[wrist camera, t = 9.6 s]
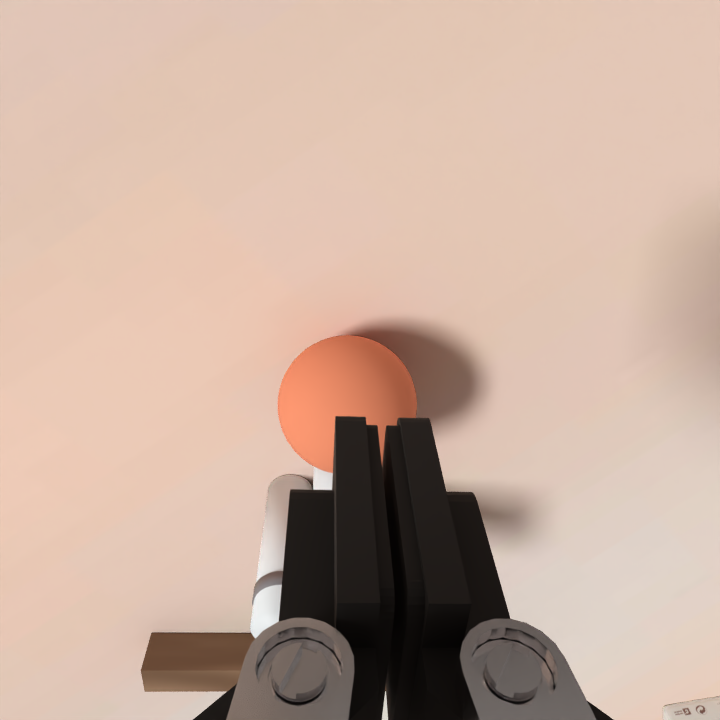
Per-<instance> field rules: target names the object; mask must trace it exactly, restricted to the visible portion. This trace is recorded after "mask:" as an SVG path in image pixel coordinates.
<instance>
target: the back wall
mask: <svg viewBox="0 0 720 720" xmlns="http://www.w3.org/2000/svg"><path fill="white" fill-rule="evenodd" d="M254 640H255V638H254V636H253V635H252V633H151V637H150V640H149V644H148V647H147V651H146V654H145V658H144V661H143V665H142V668H141V674H142V679H143V684H144V690H145V692H166V691H229V690H230V689H231V688H232V687H233V686H235V685H236V684H237V682H238V679H239V675H240V672H241V669H242V665H243V662H244V659H245V656H246V654H247V652H248V650H249V648H250V646H251V644H252V642H253V641H254ZM385 691H386V687H385Z"/></svg>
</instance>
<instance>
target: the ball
mask: <svg viewBox="0 0 720 720" xmlns="http://www.w3.org/2000/svg"><path fill="white" fill-rule="evenodd" d="M416 411H417V399H416V391H415V388H414V384H413V381H412V378H411V376H410V374H409V372H408V370H407V368H406V367H405V365H404V364H403V363H402V361H401V360H400V359H399V358H398V357H397V356H396V355H395V354H394V353H393V352H392V351H390V350H389V349H388V348H386V347H385V346H383V345H382V344H380V343H378V342H376V341H373V340H371V339H367V338H364V337H359V336H350V335H346V336H336V337H331V338H327V339H324V340H322V341H319V342H317V343H315V344H313V345H312V346H310V347H308V348H307V349H305V350H304V351H303V352H302V353H301V354H300V355H299V356H298V357H297V358H296V359H295V360H294V361H293V362H292V364H291V365H290V367H289V368H288V370H287V372H286V373H285V376H284V378H283V380H282V383H281V386H280V390H279V396H278V415H279V420H280V424H281V428H282V431H283V433H284V435H285V437H286V439H287V441H288V442H289V444H290V445H291V447H292V448H293V449H294V451H295V452H296V453H297V454H298V455H299V456H300V457H301V458H303V459H304V460H305V461H306V462H308V463H309V464H311V465H313V466H314V467H316V468H318V469H320V470H323V471H326V472H329V473H333V457H334V433H335V416H356V417H366V425H377V426H378V434H379V444H380V453H381V463H382V462H383V451H384V440H385V430H386V426H387V425H396V426H397V420H398V418H416Z"/></svg>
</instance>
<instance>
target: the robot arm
mask: <svg viewBox="0 0 720 720" xmlns="http://www.w3.org/2000/svg"><path fill="white" fill-rule="evenodd" d="M385 687H386V695H387V708H388V720H613V719H612V718H610V717H609V716H608V715H606V714H605V713H603V712H602V711H601V710H599V709H598V708H597V707H595V706H594V705H592V704H591V703H590V702H588V701H587V700H586V698H585V696H584V694H583V692H582V690H581V688H580V686H579V684H578V682H577V680H576V679H575V677H574V675H573V673H572V671H571V669H570V667H569V665H568V663H567V661H566V659H565V657H564V656H563V654H562V653H561V651H560V650H559V648H558V647H557V645H556V644H555V643H554V642H553V641H552V640H551V639H550V638H549V637H547V636H546V635H545V634H544V633H543V632H542V631H540V630H538V629H536V628H534V627H533V626H531V625H529V624H527V623H524V622H520V621H516V620H513V619H510V616H509V612H508V609H507V605H506V602H505V598H504V595H503V591H502V588H501V584H500V580H499V577H498V573H497V570H496V566H495V563H494V559H493V556H492V552H491V549H490V545H489V542H488V538H487V535H486V531H485V528H484V524H483V520H482V517H481V513H480V510H479V506H478V503H477V500H476V497H475V495H474V494H473V493H472V492H446V489H445V484H444V480H443V475H442V471H441V467H440V462H439V458H438V453H437V449H436V445H435V440H434V436H433V431H432V427H431V423H430V419H429V418H398V420H397V426H396V425H387V426H386V430H385V440H384V451H383V462H382V463H381V453H380V444H379V434H378V426H377V425H366V417H356V416H335V433H334V457H333V480H332V490H305V489H290V495H289V506H288V518H287V530H286V541H285V553H284V564H283V576H282V588H281V599H280V611H279V622H277V623H275V624H273V625H272V626H270V627H268V628H267V629H265V630H263V631H262V632H261V633H260V634H259V636H258V637H257V638H256V639H255V640H254V641H253V642H252V644H251V646H250V648H249V650H248V652H247V654H246V656H245V659H244V662H243V665H242V669H241V672H240V675H239V679H238V682H237V684H236V685H235V686H233V687H232V688H231V689H230V690H229V691H227V692H226V693H225V694H224V695H223V696H221V697H220V698H219V699H218V700H216V701H215V702H214V703H213V704H212V705H210V706H209V707H208V708H207V709H206V710H204V711H203V712H202V713H201V714H199V715H198V716H197V717H196V718H195V719H193V720H382V712H383V703H384V695H385Z"/></svg>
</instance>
